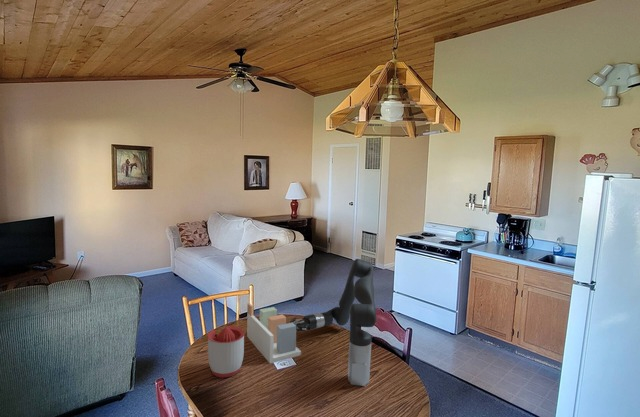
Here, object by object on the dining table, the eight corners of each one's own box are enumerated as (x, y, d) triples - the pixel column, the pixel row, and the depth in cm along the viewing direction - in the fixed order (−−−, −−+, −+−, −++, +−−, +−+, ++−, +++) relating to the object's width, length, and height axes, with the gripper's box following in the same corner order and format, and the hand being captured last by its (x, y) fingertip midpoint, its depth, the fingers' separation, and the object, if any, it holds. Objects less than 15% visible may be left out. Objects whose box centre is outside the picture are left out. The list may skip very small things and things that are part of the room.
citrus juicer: (232, 356, 175) (232, 315, 173) (250, 372, 162) (251, 328, 160) (200, 366, 165) (199, 323, 163) (216, 385, 152) (216, 338, 150)
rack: (275, 330, 204) (275, 298, 202) (300, 355, 178) (302, 319, 176) (247, 336, 196) (247, 303, 194) (269, 363, 170) (270, 325, 168)
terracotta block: (281, 336, 192) (282, 314, 190) (285, 340, 188) (286, 317, 187) (267, 340, 188) (267, 317, 186) (270, 343, 184) (271, 320, 183)
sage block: (273, 328, 201) (273, 306, 200) (276, 331, 197) (277, 309, 196) (259, 331, 197) (259, 309, 196) (262, 334, 193) (262, 312, 192)
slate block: (291, 345, 182) (292, 322, 181) (295, 349, 179) (296, 325, 177) (276, 349, 178) (277, 325, 177) (280, 353, 175) (280, 329, 173)
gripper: (308, 310, 204) (279, 315, 195) (320, 319, 192) (290, 325, 183) (307, 323, 204) (278, 329, 196) (320, 333, 193) (290, 340, 184)
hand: (284, 327), depth 189 cm, fingers closed
